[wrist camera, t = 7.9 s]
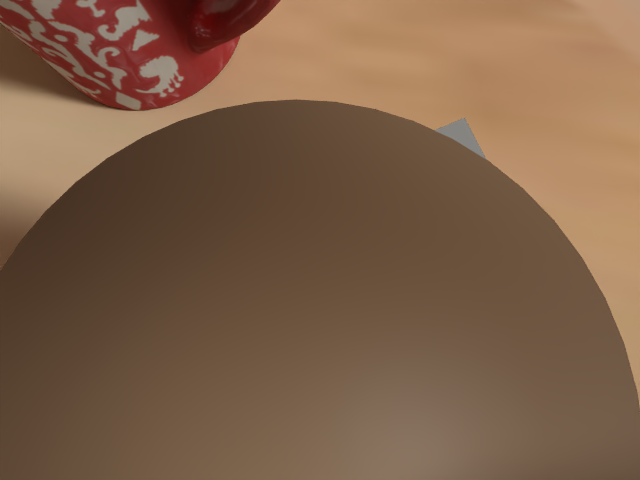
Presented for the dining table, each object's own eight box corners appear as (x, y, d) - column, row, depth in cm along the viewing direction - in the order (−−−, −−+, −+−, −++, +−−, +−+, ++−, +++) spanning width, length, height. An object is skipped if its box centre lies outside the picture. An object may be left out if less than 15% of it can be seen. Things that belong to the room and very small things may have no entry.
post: (427, 547, 15) (547, 1009, 4) (221, 470, 16) (-172, 656, 5) (484, 330, 16) (707, 190, 5) (287, 272, 17) (97, 41, 6)
